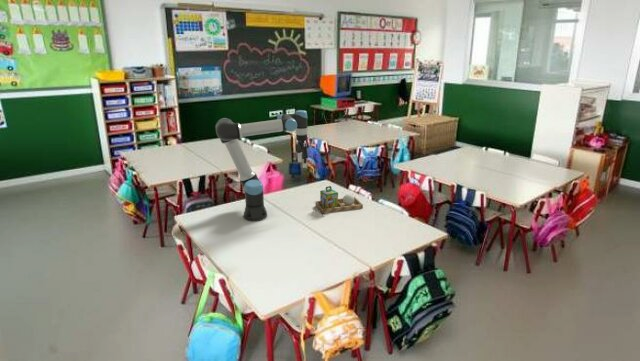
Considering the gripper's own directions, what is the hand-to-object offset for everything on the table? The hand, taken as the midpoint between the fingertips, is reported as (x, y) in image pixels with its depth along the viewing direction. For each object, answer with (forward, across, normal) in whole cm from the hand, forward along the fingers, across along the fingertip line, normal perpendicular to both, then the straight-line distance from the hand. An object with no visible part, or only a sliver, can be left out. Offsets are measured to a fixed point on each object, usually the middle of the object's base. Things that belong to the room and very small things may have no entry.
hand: (302, 164), depth 278 cm
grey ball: (+28, -14, -29) cm, 42 cm away
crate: (+29, -14, -22) cm, 39 cm away
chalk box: (+28, -14, -15) cm, 34 cm away
